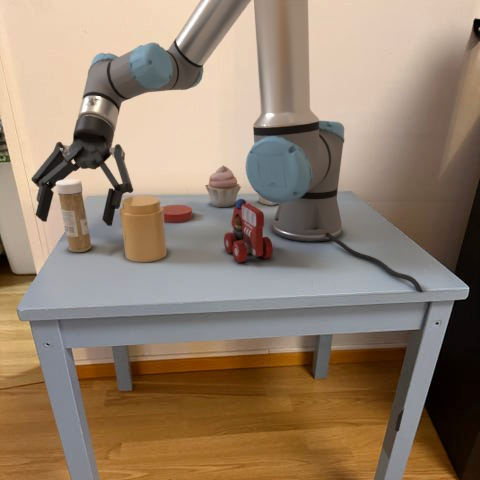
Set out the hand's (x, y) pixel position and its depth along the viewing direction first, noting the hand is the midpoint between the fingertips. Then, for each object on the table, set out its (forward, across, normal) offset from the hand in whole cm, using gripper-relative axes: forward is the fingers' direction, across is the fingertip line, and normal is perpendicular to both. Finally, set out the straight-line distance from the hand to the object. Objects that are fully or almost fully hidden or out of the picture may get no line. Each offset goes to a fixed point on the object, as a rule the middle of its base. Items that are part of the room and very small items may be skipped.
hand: (73, 220), depth 87 cm
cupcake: (-22, +22, +32) cm, 44 cm away
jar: (+4, +14, +5) cm, 15 cm away
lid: (-14, +12, +21) cm, 28 cm away
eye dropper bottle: (-25, +33, +34) cm, 54 cm away
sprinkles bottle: (+4, 0, +5) cm, 6 cm away
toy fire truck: (+1, +33, +8) cm, 34 cm away
